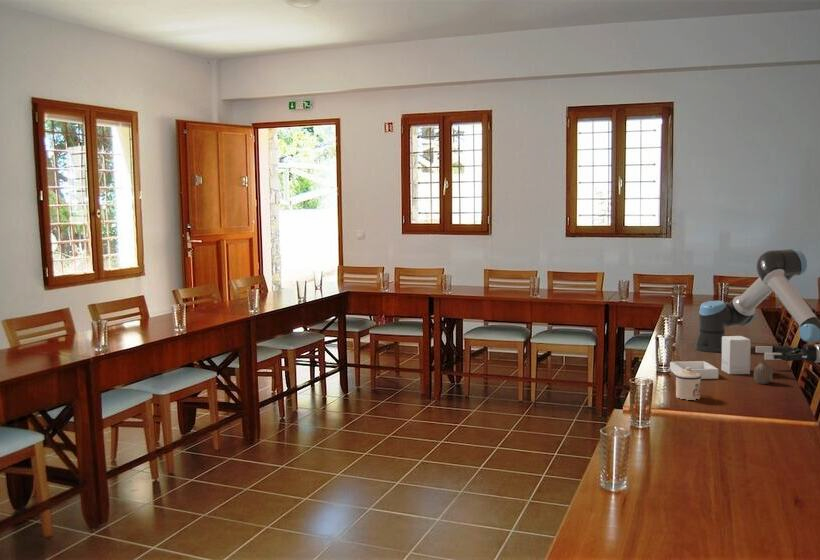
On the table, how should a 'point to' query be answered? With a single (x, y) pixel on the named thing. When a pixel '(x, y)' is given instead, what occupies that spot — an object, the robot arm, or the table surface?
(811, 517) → the table surface
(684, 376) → the teacup with lid
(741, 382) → the table surface
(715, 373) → the white bin
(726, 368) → the supplement box
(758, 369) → the vase
